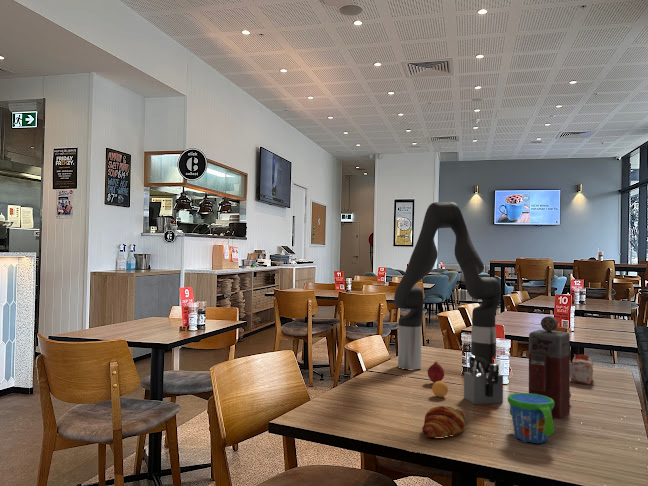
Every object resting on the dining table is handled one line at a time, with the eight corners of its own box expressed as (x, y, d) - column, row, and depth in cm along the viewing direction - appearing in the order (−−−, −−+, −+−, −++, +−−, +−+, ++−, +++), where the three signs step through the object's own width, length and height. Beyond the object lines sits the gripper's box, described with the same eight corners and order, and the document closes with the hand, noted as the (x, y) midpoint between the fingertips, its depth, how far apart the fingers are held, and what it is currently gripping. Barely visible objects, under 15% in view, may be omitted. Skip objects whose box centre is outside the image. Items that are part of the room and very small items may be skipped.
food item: (593, 386, 178) (593, 358, 179) (568, 383, 182) (568, 356, 183) (593, 378, 190) (593, 352, 191) (569, 375, 194) (569, 350, 195)
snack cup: (497, 428, 132) (497, 389, 132) (536, 428, 133) (536, 389, 133) (524, 451, 117) (524, 407, 117) (568, 451, 117) (568, 407, 117)
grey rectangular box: (463, 398, 160) (464, 372, 161) (491, 396, 162) (491, 371, 163) (474, 404, 154) (474, 376, 154) (502, 402, 156) (502, 375, 156)
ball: (429, 395, 163) (429, 379, 164) (443, 394, 165) (443, 379, 165) (436, 399, 159) (436, 383, 159) (450, 398, 160) (450, 382, 160)
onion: (445, 386, 175) (446, 363, 176) (429, 385, 176) (429, 362, 176) (442, 381, 181) (442, 359, 182) (426, 381, 181) (426, 359, 182)
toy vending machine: (525, 414, 145) (525, 316, 146) (538, 405, 153) (538, 313, 154) (558, 421, 139) (558, 319, 140) (569, 412, 147) (569, 316, 148)
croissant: (451, 431, 140) (439, 403, 143) (483, 421, 135) (470, 392, 137) (416, 452, 123) (403, 420, 126) (450, 441, 118) (436, 408, 121)
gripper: (461, 336, 165) (461, 388, 165) (484, 344, 151) (484, 400, 150) (482, 336, 167) (482, 387, 166) (507, 343, 152) (506, 399, 152)
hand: (483, 393), depth 158 cm, fingers closed on grey rectangular box, 6 cm apart
